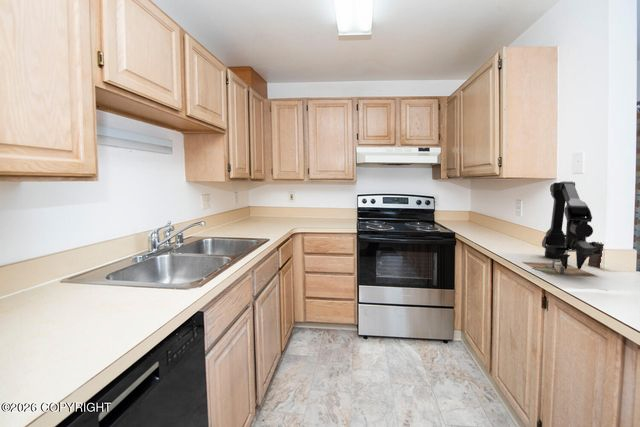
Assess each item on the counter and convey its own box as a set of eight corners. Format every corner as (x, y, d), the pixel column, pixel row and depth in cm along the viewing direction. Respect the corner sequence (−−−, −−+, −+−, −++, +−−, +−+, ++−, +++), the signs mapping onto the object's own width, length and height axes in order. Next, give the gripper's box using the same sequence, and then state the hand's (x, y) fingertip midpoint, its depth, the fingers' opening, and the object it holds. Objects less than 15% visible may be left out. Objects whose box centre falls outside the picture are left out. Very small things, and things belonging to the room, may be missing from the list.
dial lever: (551, 265, 142) (552, 259, 142) (558, 266, 141) (559, 259, 140) (558, 273, 131) (558, 266, 130) (566, 274, 129) (567, 267, 129)
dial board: (518, 264, 150) (518, 261, 150) (564, 265, 149) (564, 262, 148) (545, 277, 130) (545, 274, 130) (599, 279, 128) (599, 276, 128)
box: (600, 270, 142) (603, 244, 141) (587, 267, 145) (590, 242, 144) (601, 267, 146) (604, 242, 145) (588, 265, 149) (591, 241, 148)
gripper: (565, 237, 125) (563, 274, 126) (614, 236, 123) (611, 274, 125) (546, 232, 136) (544, 267, 137) (591, 231, 135) (589, 266, 136)
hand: (572, 268), depth 134 cm, fingers open, 5 cm apart
